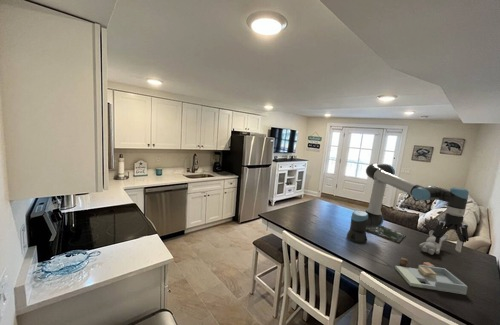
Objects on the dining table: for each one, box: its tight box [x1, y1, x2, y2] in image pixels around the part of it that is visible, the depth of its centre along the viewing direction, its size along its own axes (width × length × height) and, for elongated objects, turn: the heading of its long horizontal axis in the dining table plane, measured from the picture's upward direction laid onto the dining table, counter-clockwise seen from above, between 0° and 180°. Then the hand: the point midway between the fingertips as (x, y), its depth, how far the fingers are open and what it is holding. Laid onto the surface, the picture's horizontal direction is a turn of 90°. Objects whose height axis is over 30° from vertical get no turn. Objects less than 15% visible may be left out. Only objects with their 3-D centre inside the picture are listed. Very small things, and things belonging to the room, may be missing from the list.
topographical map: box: [366, 225, 407, 244], centre depth 187 cm, size 26×33×3 cm
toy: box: [418, 229, 449, 256], centre depth 160 cm, size 12×10×30 cm
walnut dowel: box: [399, 257, 409, 267], centre depth 134 cm, size 4×4×5 cm
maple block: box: [417, 266, 436, 279], centre depth 124 cm, size 6×6×3 cm
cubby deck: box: [394, 264, 469, 296], centre depth 121 cm, size 28×16×5 cm, turn 81°
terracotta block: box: [422, 261, 435, 267], centre depth 132 cm, size 4×4×4 cm
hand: (447, 249), depth 121 cm, fingers open, 10 cm apart
